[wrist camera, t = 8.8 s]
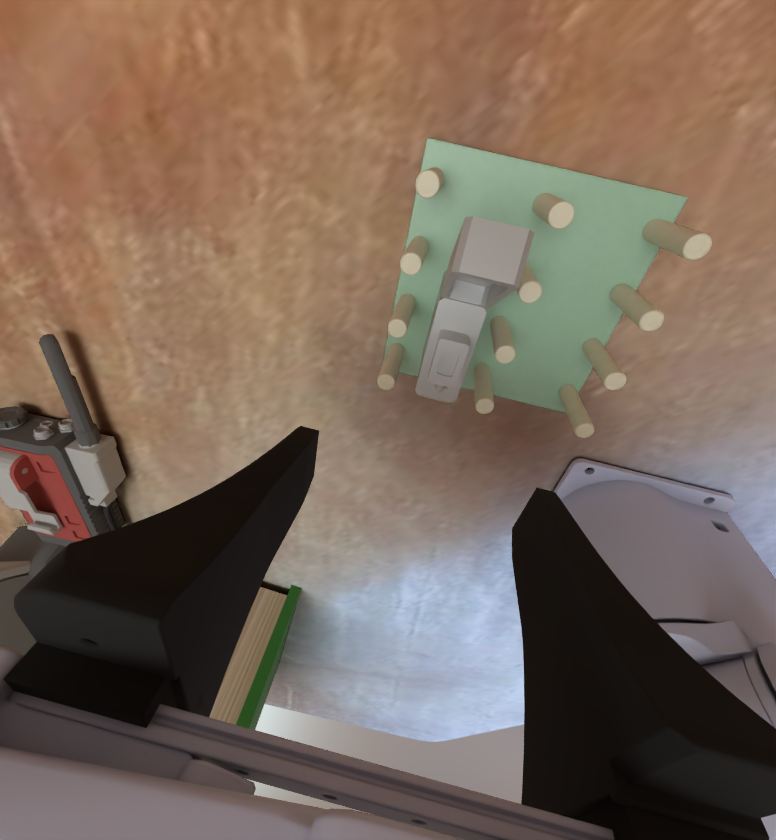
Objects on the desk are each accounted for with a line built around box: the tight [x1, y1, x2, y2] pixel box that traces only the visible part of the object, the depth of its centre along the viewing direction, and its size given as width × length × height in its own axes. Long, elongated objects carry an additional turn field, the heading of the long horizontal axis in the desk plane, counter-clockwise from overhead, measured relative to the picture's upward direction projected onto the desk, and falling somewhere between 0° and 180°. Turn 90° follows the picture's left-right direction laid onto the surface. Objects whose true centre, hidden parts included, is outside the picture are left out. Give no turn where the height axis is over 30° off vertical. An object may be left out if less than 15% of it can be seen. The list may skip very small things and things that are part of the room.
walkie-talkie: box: [0, 334, 126, 546], centre depth 27 cm, size 9×4×20 cm
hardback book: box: [209, 585, 301, 730], centre depth 31 cm, size 18×7×24 cm, turn 163°
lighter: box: [415, 216, 534, 403], centre depth 14 cm, size 7×2×8 cm, turn 169°
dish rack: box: [377, 138, 712, 438], centre depth 16 cm, size 10×10×4 cm
